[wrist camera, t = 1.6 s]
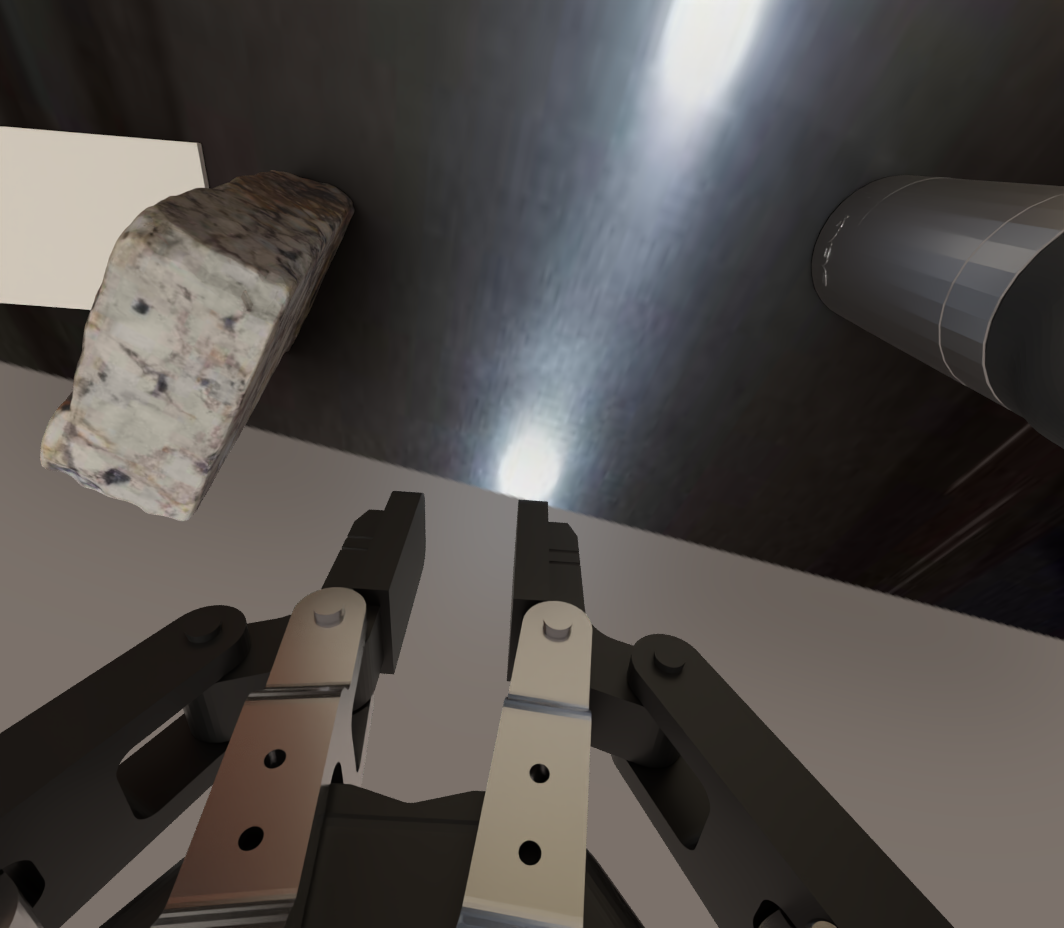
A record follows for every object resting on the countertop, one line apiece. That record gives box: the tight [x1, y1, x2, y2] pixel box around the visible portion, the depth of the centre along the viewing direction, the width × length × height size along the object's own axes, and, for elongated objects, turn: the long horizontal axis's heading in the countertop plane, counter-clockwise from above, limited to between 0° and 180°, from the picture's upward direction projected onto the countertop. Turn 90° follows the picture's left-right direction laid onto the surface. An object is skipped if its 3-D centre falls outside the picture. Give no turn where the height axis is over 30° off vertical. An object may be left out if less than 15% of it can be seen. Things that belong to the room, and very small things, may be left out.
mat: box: [0, 126, 209, 310], centre depth 38 cm, size 18×11×1 cm, turn 86°
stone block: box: [40, 170, 355, 521], centre depth 30 cm, size 13×7×20 cm, turn 151°
